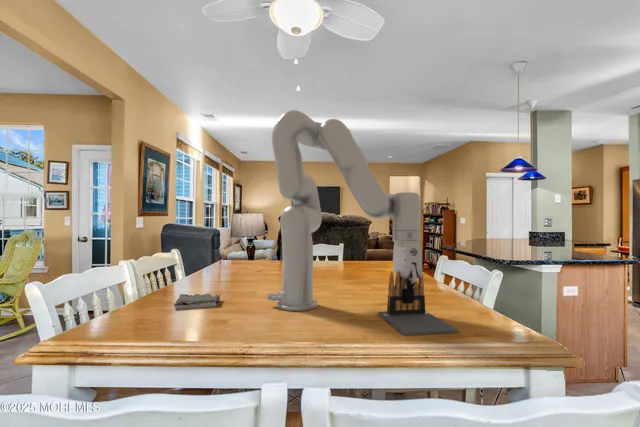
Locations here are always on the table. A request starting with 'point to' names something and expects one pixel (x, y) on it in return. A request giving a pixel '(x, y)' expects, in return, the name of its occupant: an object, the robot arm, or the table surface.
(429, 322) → the mat
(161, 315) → the table surface
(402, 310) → the ammunition clip
